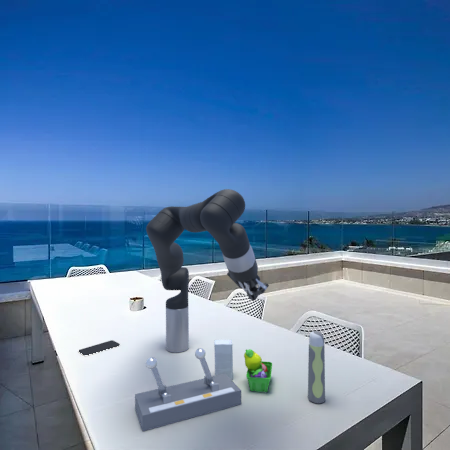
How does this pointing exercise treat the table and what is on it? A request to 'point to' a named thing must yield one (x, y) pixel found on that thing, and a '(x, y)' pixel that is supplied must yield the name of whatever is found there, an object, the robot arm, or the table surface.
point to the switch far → (204, 365)
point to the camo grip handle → (316, 368)
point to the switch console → (185, 401)
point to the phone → (99, 347)
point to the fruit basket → (257, 371)
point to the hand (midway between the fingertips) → (253, 297)
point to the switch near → (156, 374)
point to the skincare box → (223, 358)
